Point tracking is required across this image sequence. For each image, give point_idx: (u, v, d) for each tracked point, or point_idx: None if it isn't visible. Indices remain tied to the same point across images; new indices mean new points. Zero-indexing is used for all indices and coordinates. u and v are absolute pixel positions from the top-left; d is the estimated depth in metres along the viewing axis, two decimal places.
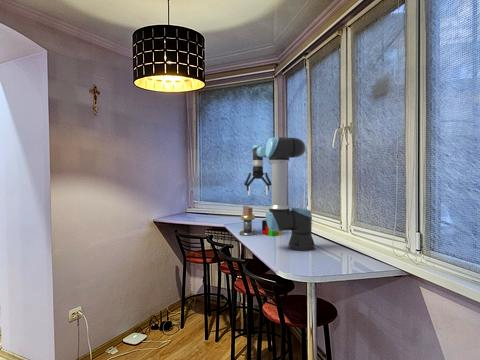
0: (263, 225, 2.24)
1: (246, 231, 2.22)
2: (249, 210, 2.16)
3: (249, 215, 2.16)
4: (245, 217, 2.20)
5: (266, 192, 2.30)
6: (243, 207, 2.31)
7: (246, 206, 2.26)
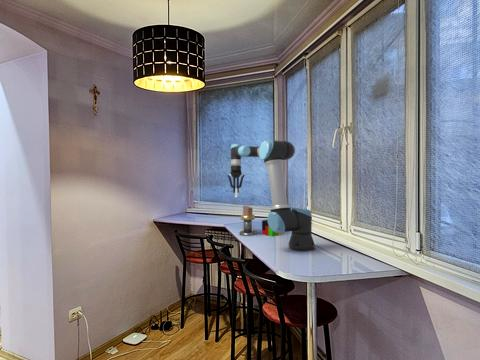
0: (263, 225, 2.24)
1: (246, 231, 2.22)
2: (249, 210, 2.16)
3: (249, 215, 2.16)
4: (245, 217, 2.20)
5: None
6: (243, 207, 2.31)
7: (246, 206, 2.26)
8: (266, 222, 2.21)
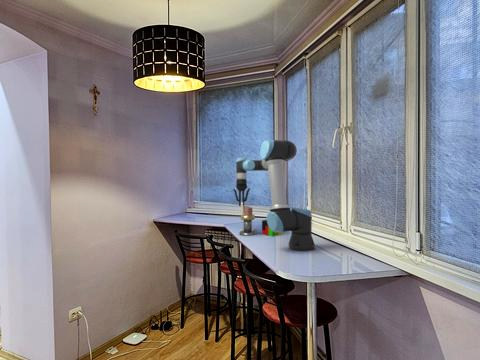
0: (263, 225, 2.24)
1: (246, 231, 2.22)
2: (249, 210, 2.16)
3: (249, 215, 2.16)
4: (245, 217, 2.20)
5: None
6: (243, 207, 2.31)
7: (246, 206, 2.26)
8: (266, 222, 2.21)
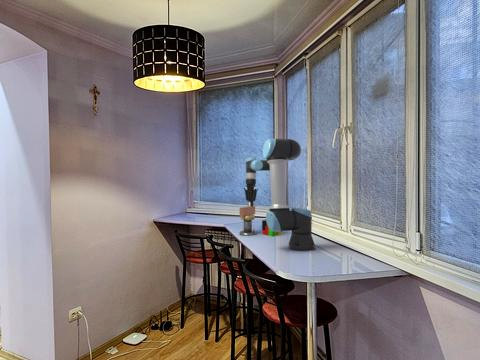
0: (263, 225, 2.24)
1: (246, 231, 2.22)
2: (240, 210, 2.18)
3: (240, 215, 2.18)
4: (241, 217, 2.22)
5: None
6: None
7: (248, 206, 2.26)
8: (266, 222, 2.21)
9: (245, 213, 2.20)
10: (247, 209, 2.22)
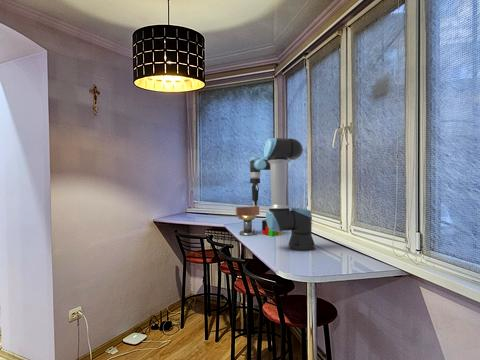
0: (263, 225, 2.24)
1: (246, 231, 2.22)
2: (236, 209, 2.22)
3: (236, 214, 2.22)
4: None
5: None
6: None
7: (250, 206, 2.25)
8: (266, 222, 2.21)
9: (242, 212, 2.21)
10: (245, 209, 2.22)
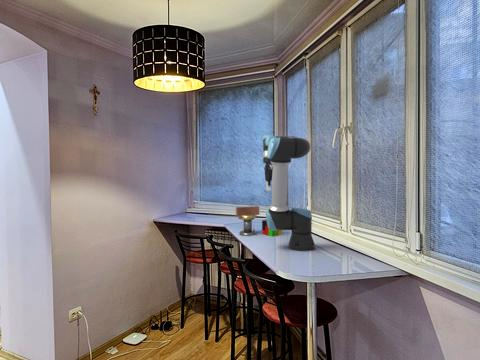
0: (263, 225, 2.24)
1: (246, 231, 2.22)
2: (236, 209, 2.22)
3: (236, 214, 2.22)
4: None
5: None
6: None
7: (250, 206, 2.25)
8: (266, 222, 2.21)
9: (242, 212, 2.21)
10: (245, 209, 2.22)
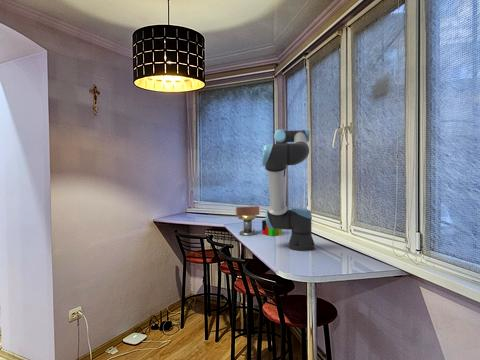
0: (263, 225, 2.24)
1: (246, 231, 2.22)
2: (236, 209, 2.22)
3: (236, 214, 2.22)
4: None
5: None
6: None
7: (250, 206, 2.25)
8: None
9: (242, 212, 2.21)
10: (245, 209, 2.22)
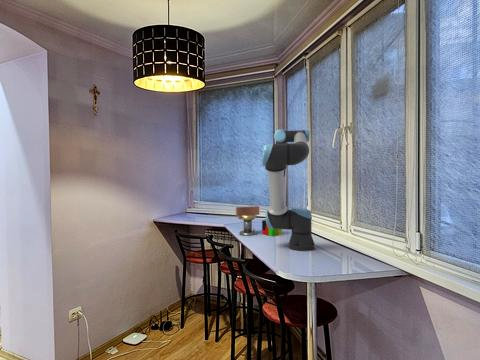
0: (263, 225, 2.24)
1: (246, 231, 2.22)
2: (236, 209, 2.22)
3: (236, 214, 2.22)
4: None
5: None
6: None
7: (250, 206, 2.25)
8: None
9: (242, 212, 2.21)
10: (245, 209, 2.22)
